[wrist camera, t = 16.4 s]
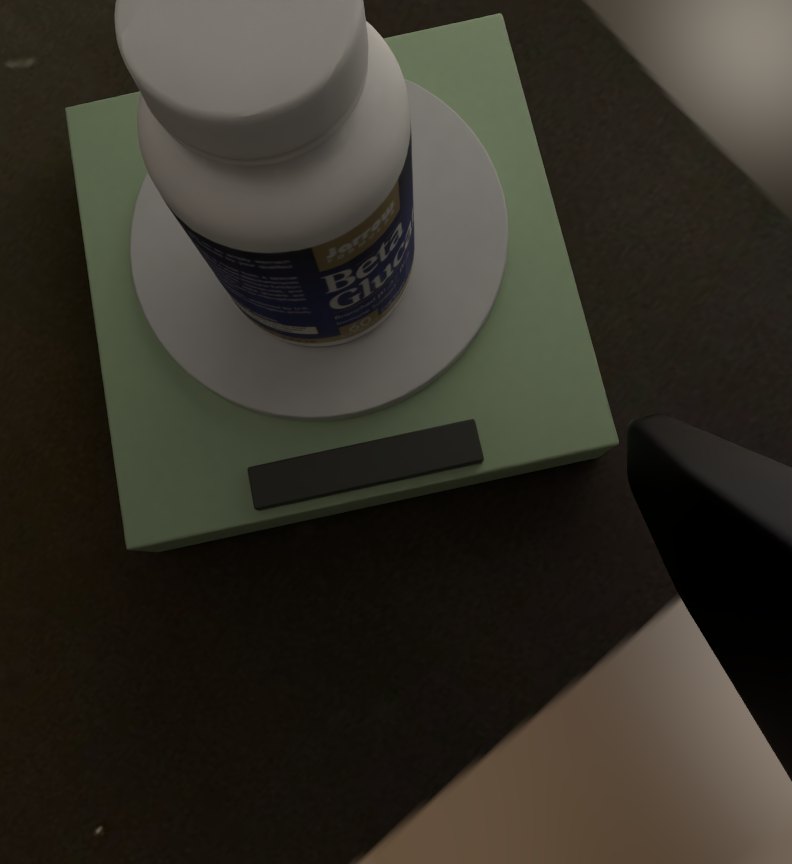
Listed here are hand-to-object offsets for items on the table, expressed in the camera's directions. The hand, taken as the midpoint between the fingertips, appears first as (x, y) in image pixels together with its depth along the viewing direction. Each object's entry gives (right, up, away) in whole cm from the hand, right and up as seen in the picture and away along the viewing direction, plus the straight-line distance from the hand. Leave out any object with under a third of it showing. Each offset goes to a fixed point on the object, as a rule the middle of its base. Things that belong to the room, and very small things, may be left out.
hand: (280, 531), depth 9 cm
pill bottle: (-1, +6, +12) cm, 14 cm away
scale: (-1, +6, +15) cm, 16 cm away
